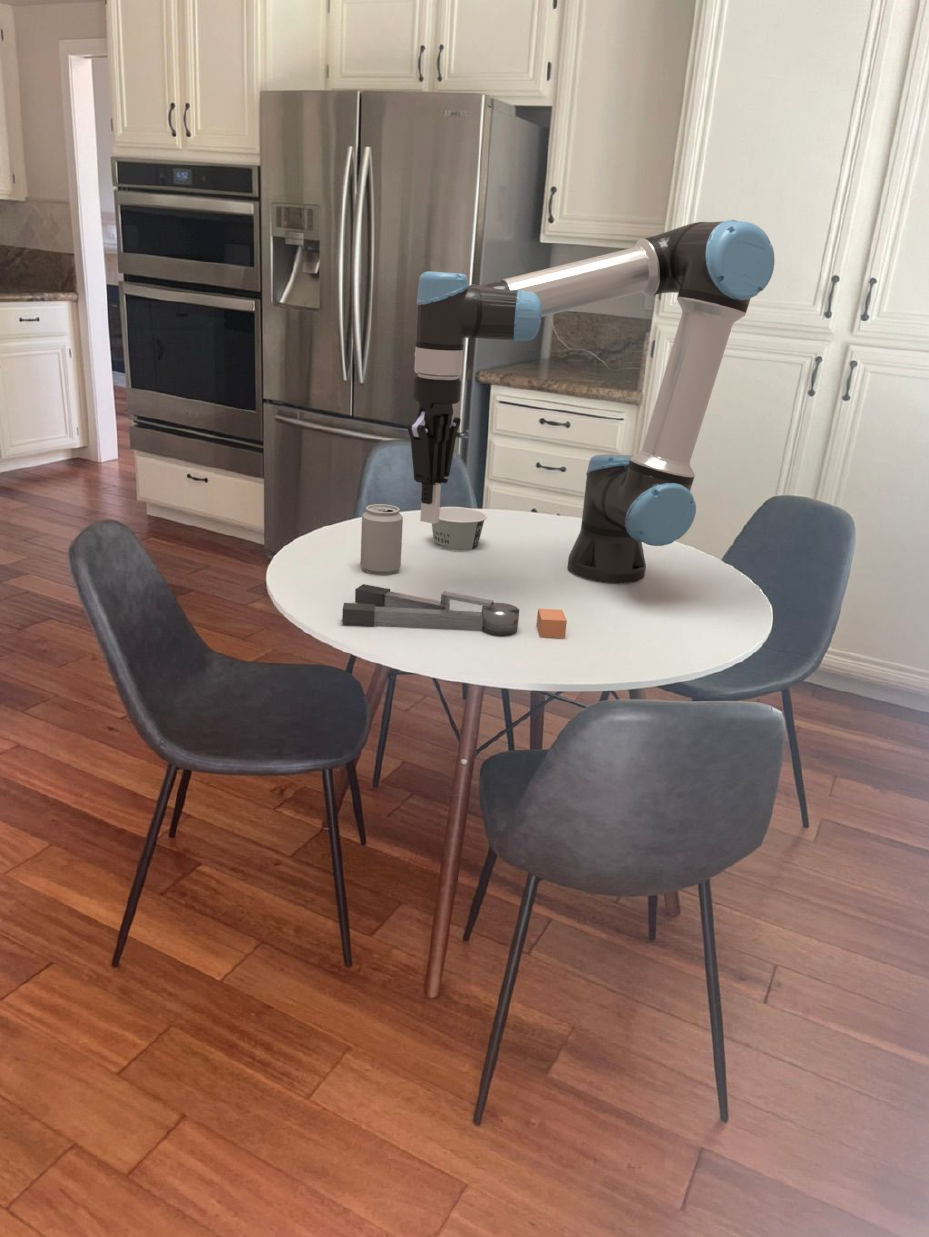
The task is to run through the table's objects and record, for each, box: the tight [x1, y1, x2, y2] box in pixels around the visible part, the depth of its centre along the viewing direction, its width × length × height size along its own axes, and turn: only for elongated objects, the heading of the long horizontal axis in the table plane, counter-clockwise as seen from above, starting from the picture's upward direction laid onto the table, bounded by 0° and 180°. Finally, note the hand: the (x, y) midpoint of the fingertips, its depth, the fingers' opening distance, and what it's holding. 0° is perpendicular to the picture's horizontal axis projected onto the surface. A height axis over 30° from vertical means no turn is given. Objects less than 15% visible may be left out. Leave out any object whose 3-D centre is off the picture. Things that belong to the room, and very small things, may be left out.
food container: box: [431, 506, 488, 551], centre depth 195 cm, size 12×12×6 cm
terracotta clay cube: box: [535, 608, 568, 639], centre depth 152 cm, size 4×5×3 cm
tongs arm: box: [354, 583, 495, 610], centre depth 155 cm, size 24×3×4 cm, turn 70°
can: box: [359, 503, 404, 576], centre depth 174 cm, size 8×8×12 cm
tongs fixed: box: [341, 602, 520, 637], centre depth 150 cm, size 28×6×4 cm, turn 93°
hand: (429, 521), depth 156 cm, fingers closed
